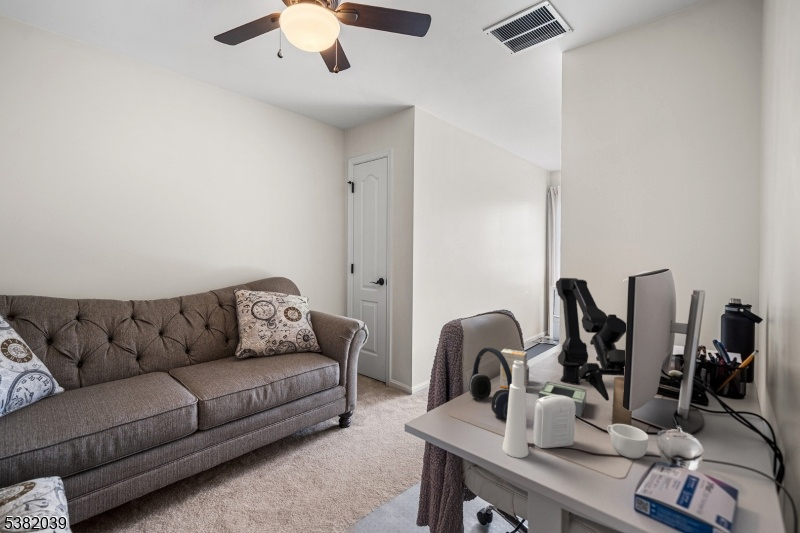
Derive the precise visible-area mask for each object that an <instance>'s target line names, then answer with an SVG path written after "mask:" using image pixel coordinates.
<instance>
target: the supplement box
mask: <svg viewBox="0 0 800 533" xmlns="http://www.w3.org/2000/svg"><path fill="white" fill-rule="evenodd" d="M500 352H501V353H502V354H503V356H504V357H505V359H506V361H507V363H508V365H509V368H510V371H511V375H512V366H513V365H514V361H516V360H518V361H522V362H524V364H523V366H524V367H525V370H524V386H525V387H526V388H527V384H526V373H527V365H528V352H527V351H523V350H515V349H509V348H503V349H502V350H501V351H500ZM499 373H500V377H499V378H500V381H499V383H500V385H499V387H500V388H502V389H507V390H508V383H507V377H506V374H505V371H504V368H503V366H502V364H501V363H500V372H499Z"/></svg>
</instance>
